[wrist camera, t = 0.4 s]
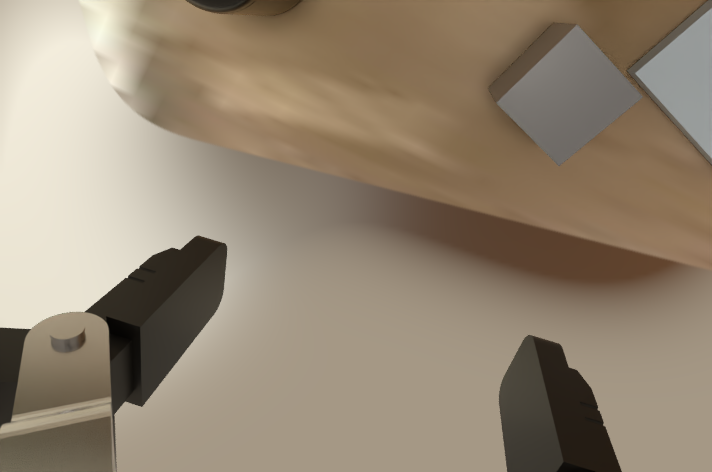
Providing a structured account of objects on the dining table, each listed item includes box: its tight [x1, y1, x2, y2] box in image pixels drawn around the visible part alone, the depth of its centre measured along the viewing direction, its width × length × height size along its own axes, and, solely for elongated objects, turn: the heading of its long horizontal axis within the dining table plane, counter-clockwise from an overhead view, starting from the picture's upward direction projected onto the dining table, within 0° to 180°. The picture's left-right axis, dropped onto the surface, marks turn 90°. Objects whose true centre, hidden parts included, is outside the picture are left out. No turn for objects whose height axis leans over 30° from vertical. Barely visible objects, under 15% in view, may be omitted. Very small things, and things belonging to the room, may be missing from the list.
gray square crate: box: [488, 23, 643, 166], centre depth 29 cm, size 6×6×6 cm
